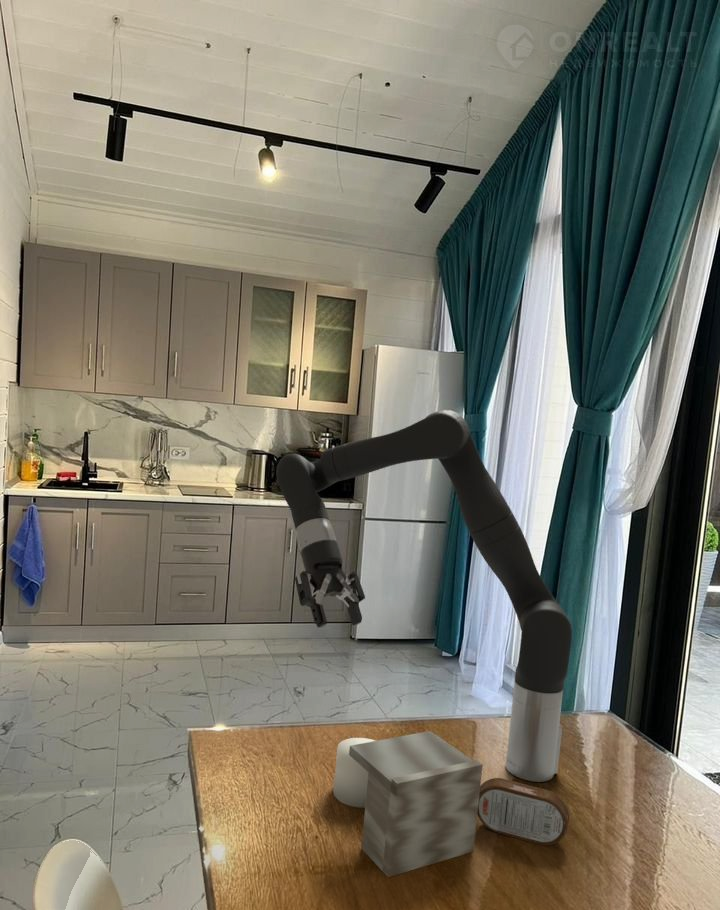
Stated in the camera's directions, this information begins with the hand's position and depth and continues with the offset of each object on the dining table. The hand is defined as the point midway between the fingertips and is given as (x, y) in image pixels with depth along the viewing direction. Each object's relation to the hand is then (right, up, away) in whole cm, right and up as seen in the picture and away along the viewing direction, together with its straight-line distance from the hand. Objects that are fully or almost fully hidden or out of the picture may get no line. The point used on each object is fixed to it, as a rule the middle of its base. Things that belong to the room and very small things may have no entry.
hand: (340, 624), depth 136 cm
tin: (+30, -31, -17) cm, 46 cm away
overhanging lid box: (+11, -29, -20) cm, 37 cm away
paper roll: (+3, -28, -8) cm, 29 cm away
